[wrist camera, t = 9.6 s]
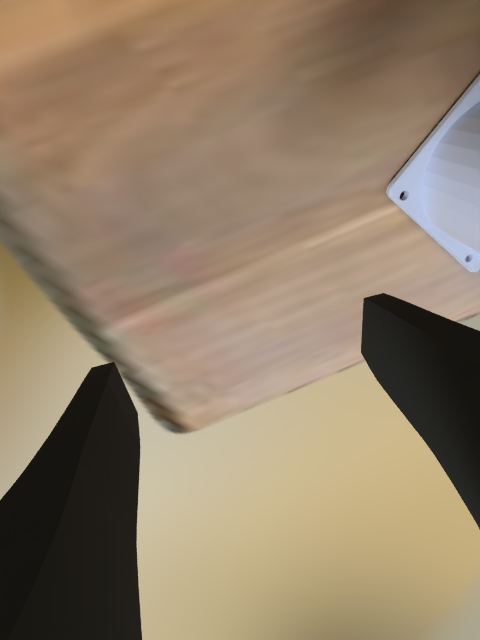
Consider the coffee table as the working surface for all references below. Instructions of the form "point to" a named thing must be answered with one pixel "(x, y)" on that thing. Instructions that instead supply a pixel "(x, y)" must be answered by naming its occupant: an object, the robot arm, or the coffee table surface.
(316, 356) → the coffee table surface
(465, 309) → the coffee table surface
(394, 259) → the coffee table surface
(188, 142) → the coffee table surface
